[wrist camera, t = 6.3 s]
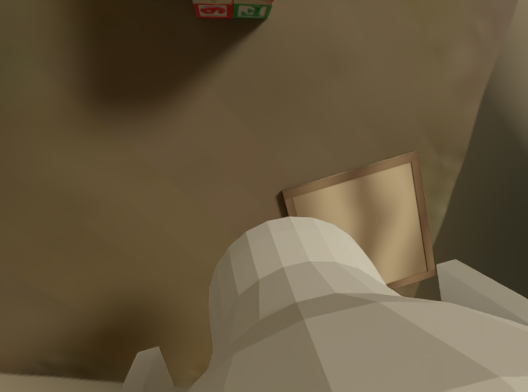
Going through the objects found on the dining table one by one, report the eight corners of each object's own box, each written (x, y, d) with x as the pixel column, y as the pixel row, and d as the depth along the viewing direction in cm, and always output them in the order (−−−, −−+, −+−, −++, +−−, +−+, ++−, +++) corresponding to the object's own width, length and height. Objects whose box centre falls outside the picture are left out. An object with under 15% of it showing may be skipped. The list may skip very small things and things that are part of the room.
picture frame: (313, 310, 32) (315, 314, 32) (281, 190, 29) (282, 191, 28) (431, 272, 33) (435, 275, 32) (413, 151, 30) (417, 151, 29)
